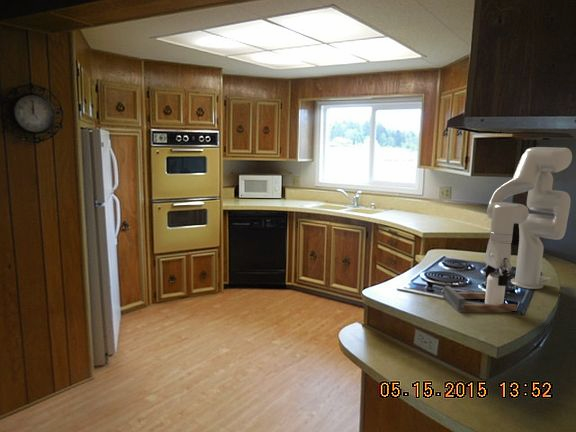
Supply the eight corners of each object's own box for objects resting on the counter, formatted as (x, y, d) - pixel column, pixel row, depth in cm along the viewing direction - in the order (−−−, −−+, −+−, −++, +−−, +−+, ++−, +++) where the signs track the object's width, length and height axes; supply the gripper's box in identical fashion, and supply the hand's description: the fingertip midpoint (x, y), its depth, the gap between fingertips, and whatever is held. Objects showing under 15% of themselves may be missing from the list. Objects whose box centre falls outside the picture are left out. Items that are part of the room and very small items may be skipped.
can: (501, 309, 162) (504, 278, 160) (482, 305, 166) (485, 275, 164) (504, 304, 167) (508, 274, 165) (486, 300, 171) (489, 271, 169)
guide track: (497, 298, 173) (498, 286, 173) (516, 312, 160) (518, 299, 159) (443, 298, 173) (444, 286, 172) (457, 311, 159) (459, 298, 158)
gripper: (480, 232, 170) (475, 274, 173) (503, 242, 153) (497, 288, 156) (498, 233, 170) (493, 275, 173) (523, 242, 153) (517, 289, 156)
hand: (495, 281), depth 164 cm, fingers open, 9 cm apart
